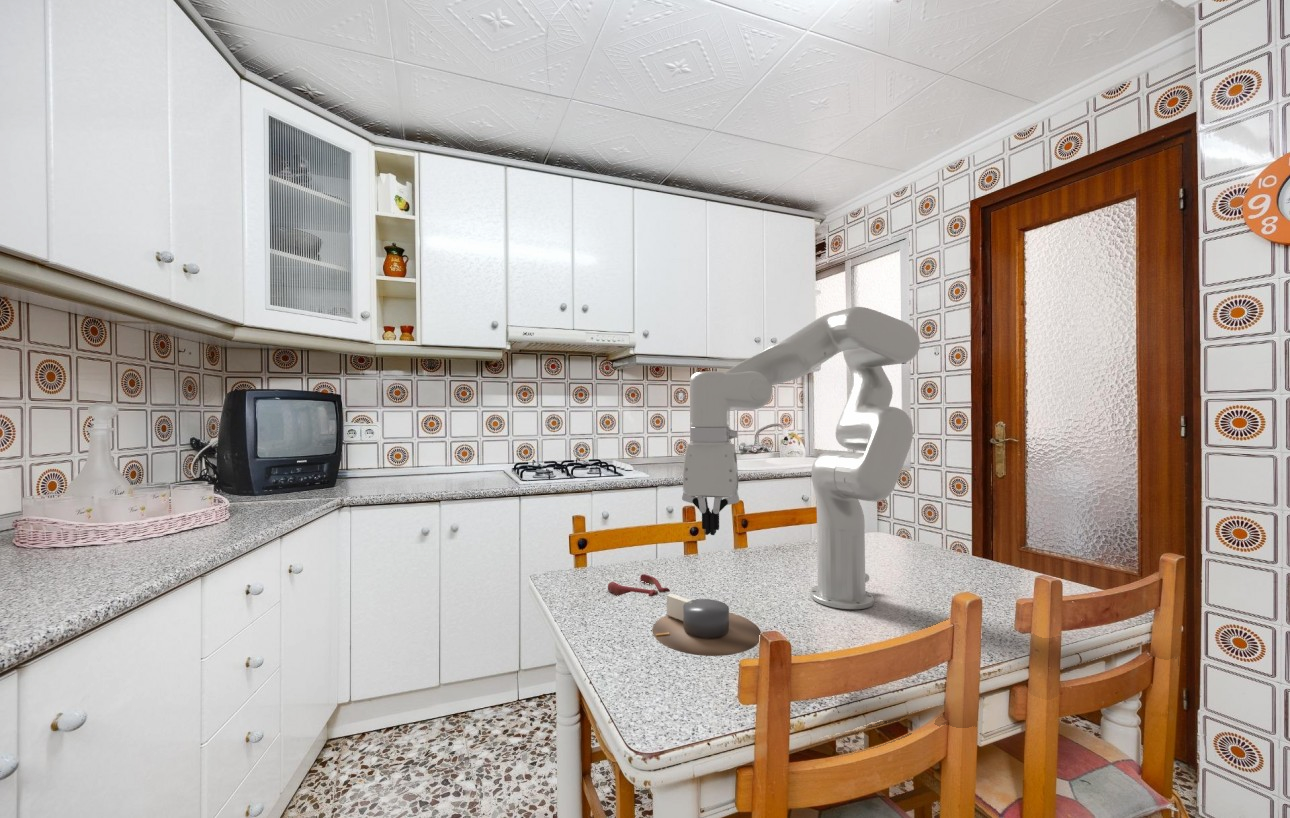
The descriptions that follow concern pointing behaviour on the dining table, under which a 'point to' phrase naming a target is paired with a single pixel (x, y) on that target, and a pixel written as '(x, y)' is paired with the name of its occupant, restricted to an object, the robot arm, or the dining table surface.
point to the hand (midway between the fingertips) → (710, 533)
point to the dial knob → (700, 615)
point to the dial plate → (735, 641)
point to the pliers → (621, 590)
